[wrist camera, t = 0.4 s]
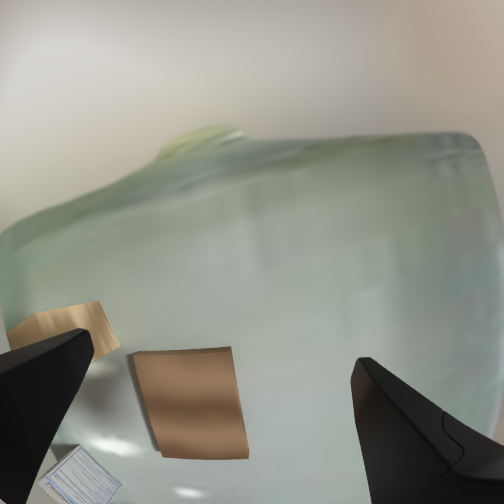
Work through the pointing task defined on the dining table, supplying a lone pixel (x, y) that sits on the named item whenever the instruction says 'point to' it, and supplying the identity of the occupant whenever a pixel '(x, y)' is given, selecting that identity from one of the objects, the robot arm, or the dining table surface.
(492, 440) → the robot arm
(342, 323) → the dining table surface
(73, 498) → the medicine box
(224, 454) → the walnut slab
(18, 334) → the oak pillar
